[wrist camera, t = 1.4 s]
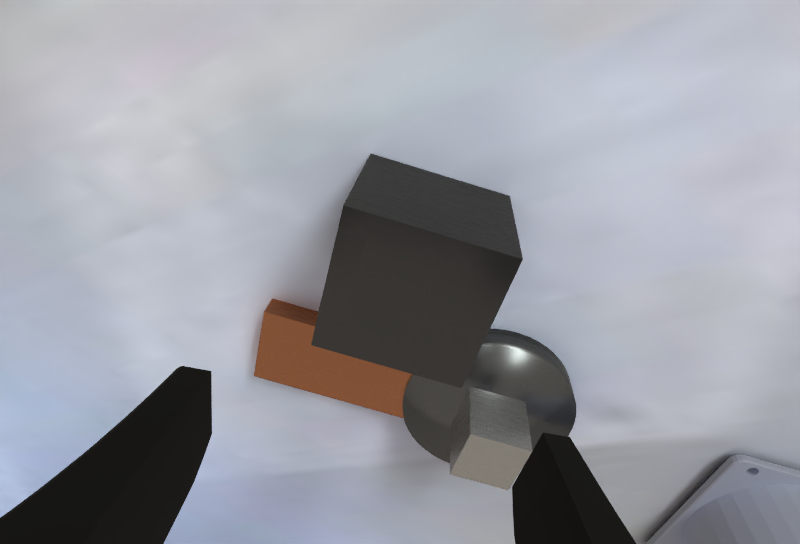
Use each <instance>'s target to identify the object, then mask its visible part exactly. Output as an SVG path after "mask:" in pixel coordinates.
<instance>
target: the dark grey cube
mask: <svg viewBox="0 0 800 544" xmlns="http://www.w3.org/2000/svg"><path fill="white" fill-rule="evenodd" d="M522 260H523V258H522V253H521V248H520V244H519V239H518V234H517V229H516V224H515V219H514V215H513V210H512V205H511V200H510V196H507V195H504V194H501V193H498V192H494V191H491V190H488V189H485V188H481V187H478V186H475V185H471V184H468V183H465V182H462V181H458V180H455V179H452V178H449V177H445V176H442V175H439V174H436V173H432V172H429V171H426V170H422V169H419V168H416V167H413V166H409V165H406V164H403V163H400V162H396V161H393V160H390V159H387V158H383V157H380V156H377V155H374V154H370V156H369V158H368V160H367V162H366V164H365V166H364V168H363V170H362V171H361V173H360V175H359V177H358V179H357V181H356V183H355V185H354V187H353V189H352V190H351V192H350V194H349V196H348V198H347V200H346V202H345V204H344V206H343V210H342V215H341V219H340V223H339V227H338V232H337V236H336V240H335V244H334V249H333V253H332V257H331V261H330V266H329V270H328V274H327V279H326V283H325V287H324V291H323V296H322V300H321V304H320V308H319V313H318V317H317V321H316V325H315V330H314V334H313V338H312V343H311V345H312V346H316V347H319V348H323V349H326V350H330V351H333V352H337V353H340V354H344V355H347V356H351V357H354V358H358V359H361V360H365V361H368V362H372V363H375V364H379V365H382V366H385V367H389V368H392V369H396V370H399V371H403V372H406V373H410V374H413V375H417V376H420V377H424V378H427V379H431V380H434V381H438V382H441V383H445V384H448V385H452V386H455V387H459V388H462V386H463V384H464V382H465V380H466V378H467V376H468V374H469V372H470V370H471V367H472V365H473V363H474V361H475V359H476V357H477V355H478V353H479V351H480V348H481V346H482V344H483V342H484V340H485V338H486V336H487V334H488V331H489V329H490V327H491V325H492V323H493V321H494V319H495V317H496V315H497V312H498V310H499V308H500V306H501V304H502V302H503V300H504V298H505V296H506V293H507V291H508V289H509V287H510V285H511V283H512V281H513V279H514V277H515V274H516V272H517V270H518V268H519V266H520V264H521V262H522Z"/></svg>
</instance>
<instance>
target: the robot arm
mask: <svg viewBox="0 0 800 544" xmlns="http://www.w3.org/2000/svg"><path fill="white" fill-rule="evenodd" d="M211 435H212V407H211V371H207V370H201V369H196V368H191V367H185V366H181V367H179V368H177V369H176V370H175V371H174V372H173V373H172V374H171V375H170V376H169V377H168V378H167V379H166V380H165V381H164V382H163V383H162V384H161V385H160V386H159V387H158V388H157V389H155V390H154V391H153V392H152V393H151V394H150V395H149V396H148V397H147V398H146V399H145V400H144V401H143V402H142V403H141V404H140V405H138V406H137V407H136V408H135V409H134V410H133V411H132V412H131V413H130V414H129V415H128V416H126V417H125V418H124V419H123V420H122V421H121V422H120V423H119V424H117V425H116V426H115V427H114V428H113V429H112V430H110V431H109V432H108V433H107V434H106V435H105V436H104V437H102V438H101V439H100V440H99V441H98V442H97V443H96V444H94V445H93V446H92V447H91V448H90V449H89V450H87V451H86V452H85V453H84V454H83V455H81V456H80V457H79V458H78V459H76V460H75V461H74V462H73V463H71V464H70V465H69V466H68V467H66V468H65V469H64V470H63V471H61V472H60V473H59V474H58V475H56V476H55V477H54V478H53V479H51V480H50V481H49V482H48V483H46V484H45V485H44V486H43V487H41V488H40V489H39V490H37V491H36V492H35V493H33V494H32V495H31V496H29V497H28V498H27V499H25V500H24V501H23V502H21V503H20V504H19V505H17V506H16V507H15V508H13V509H12V510H11V511H9V512H8V513H6V514H5V515H4V516H2V517H1V518H0V544H163V543H164V541H165V539H166V537H167V535H168V533H169V531H170V529H171V527H172V525H173V523H174V521H175V519H176V517H177V515H178V513H179V511H180V509H181V507H182V505H183V503H184V501H185V499H186V497H187V495H188V493H189V491H190V489H191V487H192V485H193V483H194V481H195V478H196V475H197V473H198V470H199V467H200V465H201V462H202V460H203V457H204V454H205V451H206V449H207V446H208V443H209V440H210V437H211ZM512 493H513V519H514V536H515V543H516V544H636V542H635V541H634V539H633V538H632V536H631V535H630V533H629V532H628V530H627V529H626V527H625V526H624V524H623V522H622V521H621V519H620V518H619V516H618V515H617V513H616V512H615V510H614V508H613V507H612V505H611V504H610V502H609V500H608V499H607V497H606V496H605V494H604V492H603V491H602V489H601V487H600V486H599V484H598V483H597V481H596V479H595V478H594V476H593V474H592V473H591V471H590V469H589V468H588V466H587V464H586V463H585V461H584V460H583V458H582V456H581V455H580V453H579V451H578V450H577V448H576V447H575V445H574V443H573V442H572V440H571V438H570V437H566V436H560V435H555V434H550V433H544V432H543V433H542V435H541V437H540V438H539V440H538V442H537V444H536V445H535V447H534V449H533V451H532V453H531V454H530V456H529V458H528V460H527V462H526V463H525V465H524V467H523V469H522V471H521V472H520V474H519V476H518V478H517V479H516V481H515V483H514V485H513V487H512ZM646 544H800V471H798V470H795V469H791V468H788V467H784V466H781V465H777V464H774V463H770V462H767V461H763V460H760V459H757V458H753V457H750V456H746V455H740V454H738V455H733V456H731V457H729V458H728V459H727V460H726V461H725V462H724V463H723V464H722V465H721V466H720V467H719V468H718V469H717V470H716V471H715V472H714V473H713V474H712V475H711V477H710V478H709V479H708V480H707V481H706V482H705V483H704V484H703V485H702V486H701V487H700V488H699V489H698V490H697V491H696V492H695V493H694V494H693V495H692V496H691V497H690V498H689V499H688V500H687V501H686V502H685V503H684V504H683V505H682V506H681V507H680V508H679V509H678V511H677V512H676V513H675V514H674V515H673V516H672V517H671V518H670V519H669V520H668V521H667V522H666V523H665V524H664V525H663V526H662V527H661V528H660V529H659V530H658V531H657V532H656V533H655V534H654V535H653V536H652V537H651V538H650V539H649V540H648V541H647V542H646Z"/></svg>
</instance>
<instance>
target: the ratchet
mask: <svg viewBox="0 0 800 544" xmlns="http://www.w3.org/2000/svg"><path fill="white" fill-rule="evenodd" d="M318 313H319V312H317V311H314V310H310V309H307V308H303V307H300V306H296V305H293V304H290V303H286V302H283V301H279V300H276V299H272V300H271V301H270V303H269V305H268V306H267V308H266V310H265V311H264V317H263V323H262V329H261V335H260V341H259V348H258V354H257V360H256V366H255V372H254V376H256V377H260V378H263V379H267V380H270V381H274V382H277V383H281V384H284V385H288V386H291V387H295V388H299V389H302V390H306V391H309V392H313V393H316V394H320V395H323V396H327V397H331V398H334V399H338V400H341V401H345V402H348V403H352V404H355V405H359V406H362V407H366V408H370V409H373V410H377V411H380V412H384V413H387V414H391V415H394V416H398V417H401V418H404V420H405V423H406V426H407V428H408V430H409V431H410V433H411V435H412V436H413V437H414V439H415V440H416V441H417V442H418V443H419V444H420V445H421V446H422V447H423V448H424V449H425V450H427V451H428V452H430V453H431V454H432V455H434V456H436V457H438V458H440V459H442V460H444V461H446V462H448V463H450V474H452V475H455V476H459V477H463V478H466V479H470V480H473V481H477V482H481V483H484V484H488V485H491V486H495V487H499V488H502V489H506V490H508V489H509V488H510V486H511V485H512V483H513V482H514V480H515V478H516V477H517V475H518V474H519V472H520V471H521V469H522V467H523V466H524V465H525V463H526V462H527V460H528V458H529V456H530V454H531V453H532V451H533V449H534V447H535V445H536V444H537V442H538V440H539V438H540V437H541V435H542V433H543V432H544V433H550V434H555V435H560V436H566V437H568V435H569V433H570V432H571V430H572V428H573V425H574V422H575V417H576V403H575V398H574V394H573V390H572V387H571V383H570V379H569V376H568V373H567V371H566V369H565V367H564V365H563V364H562V362H561V361H560V360H559V358H558V357H557V356H556V355H555V354H554V353H553V352H552V351H551V350H549V349H548V348H547V347H546V346H544V345H543V344H541V343H540V342H538V341H536V340H534V339H532V338H530V337H528V336H525V335H522V334H519V333H516V332H511V331H507V330H500V329H489V331H488V334H487V336H486V338H485V340H484V342H483V344H482V346H481V348H480V351H479V353H478V355H477V357H476V359H475V361H474V363H473V365H472V367H471V370H470V372H469V374H468V376H467V378H466V380H465V382H464V384H463V386H462V388H459V387H455V386H452V385H448V384H445V383H441V382H438V381H434V380H431V379H427V378H424V377H420V376H417V375H413V374H410V373H406V372H403V371H399V370H396V369H392V368H389V367H385V366H382V365H379V364H375V363H372V362H368V361H365V360H361V359H358V358H354V357H351V356H347V355H344V354H340V353H337V352H333V351H330V350H326V349H323V348H319V347H316V346H312V345H311V343H312V338H313V334H314V330H315V325H316V321H317V317H318Z"/></svg>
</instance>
